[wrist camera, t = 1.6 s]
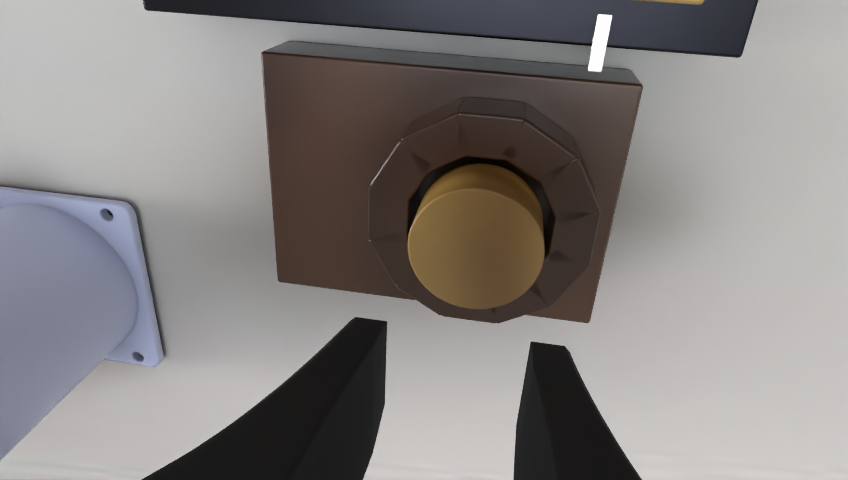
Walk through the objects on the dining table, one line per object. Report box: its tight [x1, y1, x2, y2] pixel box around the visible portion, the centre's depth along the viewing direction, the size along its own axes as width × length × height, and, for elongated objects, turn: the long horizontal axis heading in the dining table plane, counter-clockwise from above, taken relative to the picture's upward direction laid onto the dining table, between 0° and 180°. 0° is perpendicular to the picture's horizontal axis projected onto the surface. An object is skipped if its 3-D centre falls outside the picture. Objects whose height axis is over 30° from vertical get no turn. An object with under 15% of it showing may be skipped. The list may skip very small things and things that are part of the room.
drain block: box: [261, 41, 643, 323], centre depth 18 cm, size 11×8×4 cm
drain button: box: [408, 163, 545, 309], centre depth 16 cm, size 4×4×2 cm
